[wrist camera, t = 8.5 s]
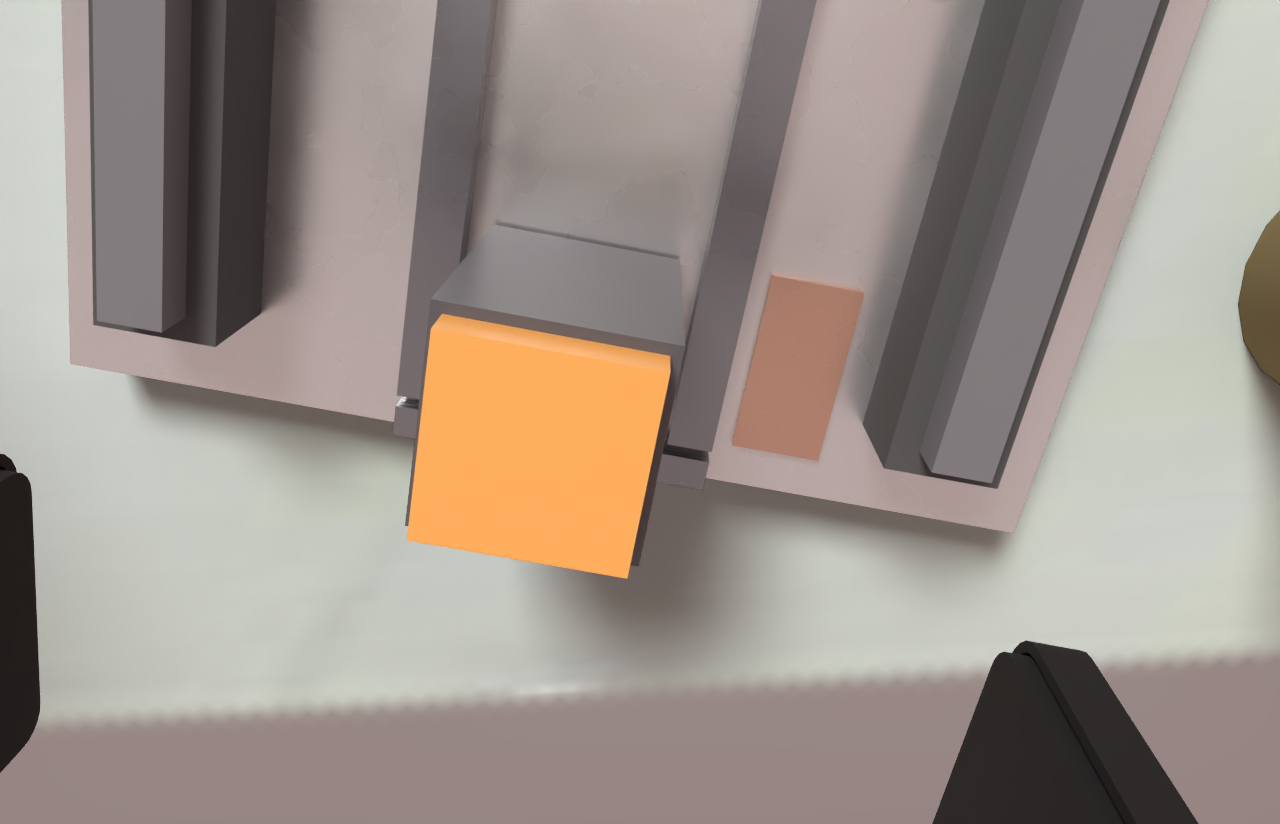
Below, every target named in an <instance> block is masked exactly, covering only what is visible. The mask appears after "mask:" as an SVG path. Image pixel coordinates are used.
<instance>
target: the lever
mask: <svg viewBox="0 0 1280 824" xmlns="http://www.w3.org/2000/svg"><path fill="white" fill-rule="evenodd" d="M684 350H685V333H684V317H683V300H682V283H681V267H680V260H678V259H673V258H668V257H663V256H657V255H652V254H647V253H641V252H636V251H631V250H626V249H620V248H615V247H610V246H604V245H599V244H594V243H589V242H583V241H578V240H573V239H568V238H562V237H557V236H552V235H546V234H541V233H536V232H531V231H525V230H520V229H515V228H509V227H504V226H499V225H494V224H493V225H492V226H491V227H490V228H489V230H488V231H487V232H486V233H485V234H484V236H483V237H482V238H481V239H480V240H479V242H478V243H477V244H476V245H475V246H474V248H473V249H472V250H471V251H470V252H469V254H468V255H467V256H466V257H465V258H464V260H463V261H462V262H461V263H460V264H459V266H458V267H457V268H456V269H455V270H454V272H453V273H452V274H451V275H450V276H449V278H448V279H447V280H446V281H445V282H444V284H443V285H442V286H441V287H440V288H439V290H438V291H437V292H436V293H435V294H434V296H433V297H432V298H431V300H430V309H429V318H428V327H427V336H426V345H425V354H424V363H423V372H422V380H421V389H420V398H419V407H418V416H417V425H416V434H415V443H414V451H413V460H412V469H411V478H410V487H409V496H408V505H407V514H406V523H405V526H408V534H407V540H408V541H414V542H419V543H425V544H431V545H437V546H442V547H448V548H454V549H460V550H465V551H471V552H477V553H482V554H488V555H494V556H500V557H505V558H511V559H517V560H523V561H528V562H534V563H540V564H546V565H551V566H557V567H563V568H569V569H574V570H580V571H586V572H591V573H597V574H603V575H609V576H614V577H620V578H626V579H627V578H628V573H629V568H630V565H633V566H639V561H640V557H641V552H642V547H643V543H644V538H645V533H646V529H647V524H648V519H649V514H650V510H651V505H652V500H653V496H654V491H655V486H656V482H657V477H658V472H659V467H660V463H661V458H662V453H663V449H664V444H665V439H666V435H667V430H668V425H669V420H670V416H671V411H672V406H673V402H674V397H675V392H676V387H677V383H678V378H679V373H680V369H681V364H682V359H683V355H684Z"/></svg>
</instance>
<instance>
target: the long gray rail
mask: <svg viewBox="0 0 1280 824" xmlns="http://www.w3.org/2000/svg"><path fill="white" fill-rule="evenodd" d="M1169 1H1170V0H985V3H984V6H983V9H982V13H981V16H980V20H979V23H978V27H977V30H976V34H975V37H974V40H973V44H972V47H971V51H970V54H969V58H968V61H967V65H966V68H965V72H964V75H963V78H962V82H961V85H960V89H959V92H958V96H957V99H956V103H955V106H954V110H953V113H952V116H951V120H950V123H949V127H948V130H947V134H946V137H945V141H944V144H943V148H942V151H941V154H940V158H939V161H938V165H937V168H936V172H935V175H934V179H933V182H932V185H931V189H930V192H929V196H928V199H927V203H926V206H925V210H924V213H923V217H922V220H921V223H920V227H919V230H918V234H917V237H916V241H915V244H914V248H913V251H912V255H911V258H910V261H909V265H908V268H907V272H906V275H905V279H904V282H903V286H902V289H901V292H900V296H899V299H898V303H897V306H896V310H895V313H894V317H893V320H892V324H891V327H890V330H889V334H888V337H887V341H886V344H885V348H884V351H883V355H882V358H881V362H880V365H879V368H878V372H877V375H876V379H875V382H874V386H873V389H872V393H871V396H870V400H869V403H868V406H867V410H866V413H865V417H864V420H863V426H864V429H865V431H866V433H867V435H868V437H869V439H870V441H871V443H872V445H873V447H874V449H875V451H876V453H877V455H878V457H879V460H880V462H881V464H882V466H883V468H884V469H890V470H895V471H901V472H906V473H912V474H917V475H923V476H928V477H934V478H939V479H945V480H950V481H956V482H961V483H967V484H972V485H978V486H983V487H989V488H994V489H998V487H999V484H1000V481H1001V478H1002V475H1003V472H1004V470H1005V467H1006V464H1007V461H1008V458H1009V455H1010V452H1011V450H1012V447H1013V444H1014V441H1015V438H1016V435H1017V433H1018V430H1019V427H1020V424H1021V421H1022V418H1023V416H1024V413H1025V410H1026V407H1027V404H1028V401H1029V399H1030V396H1031V393H1032V390H1033V387H1034V384H1035V382H1036V379H1037V376H1038V373H1039V370H1040V367H1041V365H1042V362H1043V359H1044V356H1045V353H1046V350H1047V348H1048V345H1049V342H1050V339H1051V336H1052V333H1053V331H1054V328H1055V325H1056V322H1057V319H1058V316H1059V313H1060V311H1061V308H1062V305H1063V302H1064V299H1065V296H1066V294H1067V291H1068V288H1069V285H1070V282H1071V279H1072V277H1073V274H1074V271H1075V268H1076V265H1077V262H1078V260H1079V257H1080V254H1081V251H1082V248H1083V245H1084V243H1085V240H1086V237H1087V234H1088V231H1089V228H1090V226H1091V223H1092V220H1093V217H1094V214H1095V211H1096V209H1097V206H1098V203H1099V200H1100V197H1101V194H1102V192H1103V189H1104V186H1105V183H1106V180H1107V177H1108V174H1109V172H1110V169H1111V166H1112V163H1113V160H1114V157H1115V155H1116V152H1117V149H1118V146H1119V143H1120V140H1121V138H1122V135H1123V132H1124V129H1125V126H1126V123H1127V121H1128V118H1129V115H1130V112H1131V109H1132V106H1133V104H1134V101H1135V98H1136V95H1137V92H1138V89H1139V87H1140V84H1141V81H1142V78H1143V75H1144V72H1145V70H1146V67H1147V64H1148V61H1149V58H1150V55H1151V53H1152V50H1153V47H1154V44H1155V41H1156V38H1157V35H1158V33H1159V30H1160V27H1161V24H1162V21H1163V18H1164V16H1165V13H1166V10H1167V7H1168V4H1169ZM275 14H276V0H88V16H89V81H90V146H91V212H92V277H93V325H96V326H102V327H107V328H113V329H118V330H124V331H129V332H135V333H140V334H146V335H151V336H157V337H162V338H168V339H173V340H179V341H184V342H190V343H195V344H201V345H206V346H212V347H216V346H218V345H219V344H221V343H222V342H223V341H225V340H226V339H227V338H229V337H230V336H231V335H233V334H234V333H235V332H237V331H238V330H240V329H241V328H242V327H244V326H245V325H246V324H248V323H249V322H250V321H252V320H253V319H255V318H256V317H257V316H259V315H260V314H261V302H262V281H263V261H264V240H265V219H266V199H267V178H268V158H269V137H270V117H271V96H272V75H273V55H274V34H275Z"/></svg>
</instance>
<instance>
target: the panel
mask: <svg viewBox="0 0 1280 824" xmlns="http://www.w3.org/2000/svg"><path fill="white" fill-rule="evenodd" d="M1208 1H1209V0H1170V1H1169V4H1168V7H1167V10H1166V13H1165V16H1164V18H1163V21H1162V24H1161V27H1160V30H1159V33H1158V35H1157V38H1156V41H1155V44H1154V47H1153V50H1152V53H1151V55H1150V58H1149V61H1148V64H1147V67H1146V70H1145V72H1144V75H1143V78H1142V81H1141V84H1140V87H1139V89H1138V92H1137V95H1136V98H1135V101H1134V104H1133V106H1132V109H1131V112H1130V115H1129V118H1128V121H1127V123H1126V126H1125V129H1124V132H1123V135H1122V138H1121V140H1120V143H1119V146H1118V149H1117V152H1116V155H1115V157H1114V160H1113V163H1112V166H1111V169H1110V172H1109V174H1108V177H1107V180H1106V183H1105V186H1104V189H1103V192H1102V194H1101V197H1100V200H1099V203H1098V206H1097V209H1096V211H1095V214H1094V217H1093V220H1092V223H1091V226H1090V228H1089V231H1088V234H1087V237H1086V240H1085V243H1084V245H1083V248H1082V251H1081V254H1080V257H1079V260H1078V262H1077V265H1076V268H1075V271H1074V274H1073V277H1072V279H1071V282H1070V285H1069V288H1068V291H1067V294H1066V296H1065V299H1064V302H1063V305H1062V308H1061V311H1060V313H1059V316H1058V319H1057V322H1056V325H1055V328H1054V331H1053V333H1052V336H1051V339H1050V342H1049V345H1048V348H1047V350H1046V353H1045V356H1044V359H1043V362H1042V365H1041V367H1040V370H1039V373H1038V376H1037V379H1036V382H1035V384H1034V387H1033V390H1032V393H1031V396H1030V399H1029V401H1028V404H1027V407H1026V410H1025V413H1024V416H1023V418H1022V421H1021V424H1020V427H1019V430H1018V433H1017V435H1016V438H1015V441H1014V444H1013V447H1012V450H1011V452H1010V455H1009V458H1008V461H1007V464H1006V467H1005V470H1004V472H1003V475H1002V478H1001V481H1000V484H999V487H998V489H994V488H989V487H983V486H978V485H972V484H967V483H961V482H956V481H950V480H945V479H939V478H934V477H928V476H923V475H917V474H912V473H906V472H901V471H895V470H890V469H884V468H883V466H882V464H881V462H880V460H879V457H878V455H877V453H876V451H875V449H874V447H873V445H872V443H871V441H870V439H869V437H868V435H867V433H866V431H865V429H864V426H863V420H864V417H865V413H866V410H867V406H868V403H869V400H870V396H871V393H872V389H873V386H874V382H875V379H876V375H877V372H878V368H879V365H880V362H881V358H882V355H883V351H884V348H885V344H886V341H887V337H888V334H889V330H890V327H891V324H892V320H893V317H894V313H895V310H896V306H897V303H898V299H899V296H900V292H901V289H902V286H903V282H904V279H905V275H906V272H907V268H908V265H909V261H910V258H911V255H912V251H913V248H914V244H915V241H916V237H917V234H918V230H919V227H920V223H921V220H922V217H923V213H924V210H925V206H926V203H927V199H928V196H929V192H930V189H931V185H932V182H933V179H934V175H935V172H936V168H937V165H938V161H939V158H940V154H941V151H942V148H943V144H944V141H945V137H946V134H947V130H948V127H949V123H950V120H951V116H952V113H953V110H954V106H955V103H956V99H957V96H958V92H959V89H960V85H961V82H962V78H963V75H964V72H965V68H966V65H967V61H968V58H969V54H970V51H971V47H972V44H973V40H974V37H975V34H976V30H977V27H978V23H979V20H980V16H981V13H982V9H983V6H984V3H985V0H276V14H275V34H274V55H273V75H272V96H271V117H270V137H269V158H268V178H267V199H266V219H265V240H264V261H263V281H262V302H261V314H260V315H259V316H257V317H256V318H255V319H253V320H252V321H250V322H249V323H248V324H246V325H245V326H244V327H242V328H241V329H240V330H238V331H237V332H235V333H234V334H233V335H231V336H230V337H229V338H227V339H226V340H225V341H223V342H222V343H221V344H219V345H218V346H216V347H212V346H206V345H201V344H195V343H190V342H184V341H179V340H173V339H168V338H162V337H157V336H151V335H146V334H140V333H135V332H129V331H124V330H118V329H113V328H107V327H102V326H96V325H93V277H92V212H91V146H90V81H89V16H88V0H62V39H63V80H64V121H65V162H66V203H67V244H68V285H69V326H70V364H74V365H79V366H85V367H90V368H96V369H102V370H107V371H113V372H118V373H124V374H129V375H135V376H141V377H146V378H152V379H157V380H163V381H168V382H174V383H180V384H185V385H191V386H196V387H202V388H207V389H213V390H219V391H224V392H230V393H235V394H241V395H246V396H252V397H257V398H263V399H269V400H274V401H280V402H285V403H291V404H296V405H302V406H308V407H313V408H319V409H324V410H330V411H335V412H341V413H347V414H352V415H358V416H363V417H369V418H374V419H380V420H386V421H391V422H394V426H393V435H396V436H402V437H407V438H413V439H415V434H416V425H417V416H418V407H419V398H420V389H421V380H422V372H423V363H424V354H425V345H426V336H427V327H428V318H429V309H430V300H431V298H432V297H433V296H434V294H435V293H436V292H437V291H438V290H439V288H440V287H441V286H442V285H443V284H444V282H445V281H446V280H447V279H448V278H449V276H450V275H451V274H452V273H453V272H454V270H455V269H456V268H457V267H458V266H459V264H460V263H461V262H462V261H463V260H464V258H465V257H466V256H467V255H468V254H469V252H470V251H471V250H472V249H473V248H474V246H475V245H476V244H477V243H478V242H479V240H480V239H481V238H482V237H483V236H484V234H485V233H486V232H487V231H488V230H489V228H490V227H491V226H492V225H493V224H494V225H499V226H504V227H509V228H515V229H520V230H525V231H531V232H536V233H541V234H546V235H552V236H557V237H562V238H568V239H573V240H578V241H583V242H589V243H594V244H599V245H604V246H610V247H615V248H620V249H626V250H631V251H636V252H641V253H647V254H652V255H657V256H663V257H668V258H673V259H678V260H680V267H681V283H682V300H683V317H684V333H685V350H684V355H683V359H682V364H681V369H680V373H679V378H678V383H677V387H676V392H675V397H674V402H673V406H672V411H671V416H670V420H669V425H668V430H667V435H666V439H665V444H664V449H663V453H662V458H661V463H660V467H659V472H658V477H657V482H659V483H664V484H670V485H676V486H681V487H687V488H692V489H698V490H703V487H704V483H705V479H706V478H709V479H714V480H720V481H725V482H731V483H736V484H742V485H748V486H753V487H759V488H764V489H770V490H775V491H781V492H787V493H792V494H798V495H803V496H809V497H814V498H820V499H826V500H831V501H837V502H842V503H848V504H853V505H859V506H865V507H870V508H876V509H881V510H887V511H892V512H898V513H904V514H909V515H915V516H920V517H926V518H931V519H937V520H943V521H948V522H954V523H959V524H965V525H970V526H976V527H982V528H987V529H993V530H998V531H1004V532H1009V533H1014V531H1015V528H1016V526H1017V523H1018V520H1019V517H1020V515H1021V512H1022V509H1023V506H1024V504H1025V501H1026V498H1027V496H1028V493H1029V490H1030V487H1031V485H1032V482H1033V479H1034V476H1035V474H1036V471H1037V468H1038V465H1039V463H1040V460H1041V457H1042V454H1043V452H1044V449H1045V446H1046V444H1047V441H1048V438H1049V435H1050V433H1051V430H1052V427H1053V424H1054V422H1055V419H1056V416H1057V413H1058V411H1059V408H1060V405H1061V403H1062V400H1063V397H1064V394H1065V392H1066V389H1067V386H1068V383H1069V381H1070V378H1071V375H1072V372H1073V370H1074V367H1075V364H1076V361H1077V359H1078V356H1079V353H1080V351H1081V348H1082V345H1083V342H1084V340H1085V337H1086V334H1087V331H1088V329H1089V326H1090V323H1091V320H1092V318H1093V315H1094V312H1095V310H1096V307H1097V304H1098V301H1099V299H1100V296H1101V293H1102V290H1103V288H1104V285H1105V282H1106V279H1107V277H1108V274H1109V271H1110V269H1111V266H1112V263H1113V260H1114V258H1115V255H1116V252H1117V249H1118V247H1119V244H1120V241H1121V238H1122V236H1123V233H1124V230H1125V227H1126V225H1127V222H1128V219H1129V217H1130V214H1131V211H1132V208H1133V206H1134V203H1135V200H1136V197H1137V195H1138V192H1139V189H1140V186H1141V184H1142V181H1143V178H1144V176H1145V173H1146V170H1147V167H1148V165H1149V162H1150V159H1151V156H1152V154H1153V151H1154V148H1155V145H1156V143H1157V140H1158V137H1159V135H1160V132H1161V129H1162V126H1163V124H1164V121H1165V118H1166V115H1167V113H1168V110H1169V107H1170V104H1171V102H1172V99H1173V96H1174V93H1175V91H1176V88H1177V85H1178V83H1179V80H1180V77H1181V74H1182V72H1183V69H1184V66H1185V63H1186V61H1187V58H1188V55H1189V52H1190V50H1191V47H1192V44H1193V42H1194V39H1195V36H1196V33H1197V31H1198V28H1199V25H1200V22H1201V20H1202V17H1203V14H1204V11H1205V9H1206V6H1207V3H1208Z"/></svg>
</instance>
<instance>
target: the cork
mask: <svg viewBox="0 0 1280 824" xmlns="http://www.w3.org/2000/svg"><path fill="white" fill-rule="evenodd" d="M1238 305H1239V312H1240V319H1241V326H1242V332H1243V339H1244V342H1245V343H1246V345H1247V347H1248V349H1249V350H1250V352H1251V354H1252V355H1253V357H1254V359H1255V361H1256V362H1257V364H1258V366H1259V367H1260V369H1261V371H1263V372H1264V373H1265V374H1267V375H1268V376H1269V377H1271V378H1272V379H1273V380H1275V381H1276V382H1277V383H1279V384H1280V211H1279V212H1278V213H1277V214H1276V216H1275V217H1274V218H1273V219H1272V220H1271V221H1270V222H1269V223H1268V224H1267V225H1266V227H1265V229H1264V231H1263V233H1262V235H1261V237H1260V239H1259V241H1258V242H1257V244H1256V246H1255V248H1254V250H1253V252H1252V254H1251V256H1250V258H1249V260H1248V261H1247V263H1246V267H1245V272H1244V277H1243V282H1242V287H1241V293H1240V298H1239V303H1238Z"/></svg>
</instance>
